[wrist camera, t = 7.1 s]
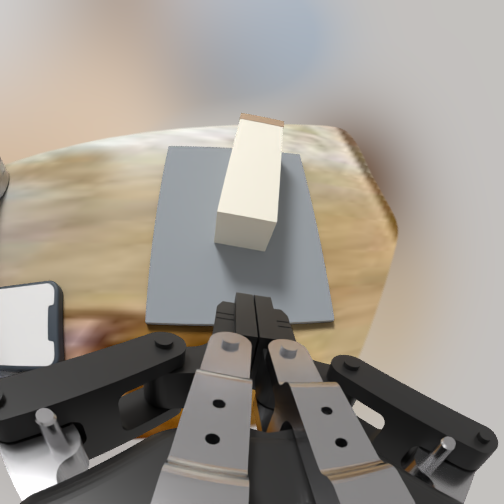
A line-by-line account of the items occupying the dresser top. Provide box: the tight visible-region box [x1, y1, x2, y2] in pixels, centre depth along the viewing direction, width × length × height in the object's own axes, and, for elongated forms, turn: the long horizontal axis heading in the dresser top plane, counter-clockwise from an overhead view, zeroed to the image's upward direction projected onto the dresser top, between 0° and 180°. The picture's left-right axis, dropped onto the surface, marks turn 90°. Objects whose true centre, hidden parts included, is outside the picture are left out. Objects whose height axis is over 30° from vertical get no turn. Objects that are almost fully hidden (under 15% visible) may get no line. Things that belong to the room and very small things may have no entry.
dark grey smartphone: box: [0, 281, 64, 372], centre depth 19 cm, size 9×2×16 cm
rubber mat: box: [145, 146, 334, 326], centre depth 30 cm, size 17×22×1 cm
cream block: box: [214, 113, 284, 252], centre depth 30 cm, size 5×5×15 cm
